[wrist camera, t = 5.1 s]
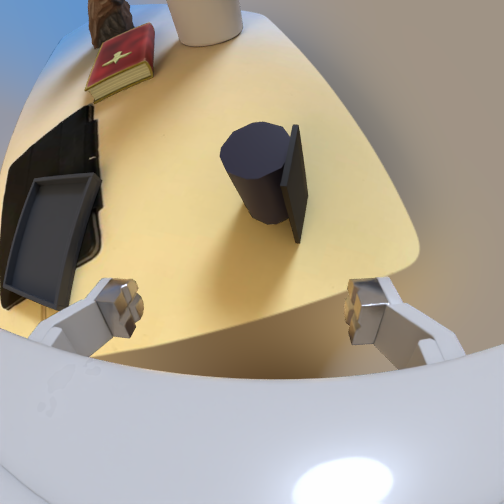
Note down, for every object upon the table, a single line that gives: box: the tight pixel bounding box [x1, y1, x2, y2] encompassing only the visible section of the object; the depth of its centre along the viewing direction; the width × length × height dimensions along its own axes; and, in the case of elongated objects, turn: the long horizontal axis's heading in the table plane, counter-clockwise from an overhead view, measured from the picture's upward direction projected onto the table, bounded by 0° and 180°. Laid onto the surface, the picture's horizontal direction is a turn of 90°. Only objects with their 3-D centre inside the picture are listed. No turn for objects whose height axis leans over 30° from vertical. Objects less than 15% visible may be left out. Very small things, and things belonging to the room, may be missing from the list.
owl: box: [88, 0, 134, 49], centre depth 36 cm, size 13×13×20 cm
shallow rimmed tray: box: [3, 173, 102, 311], centre depth 28 cm, size 17×14×2 cm
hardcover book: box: [85, 22, 155, 104], centre depth 37 cm, size 12×21×4 cm, turn 14°
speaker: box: [220, 122, 308, 243], centre depth 22 cm, size 8×6×10 cm
